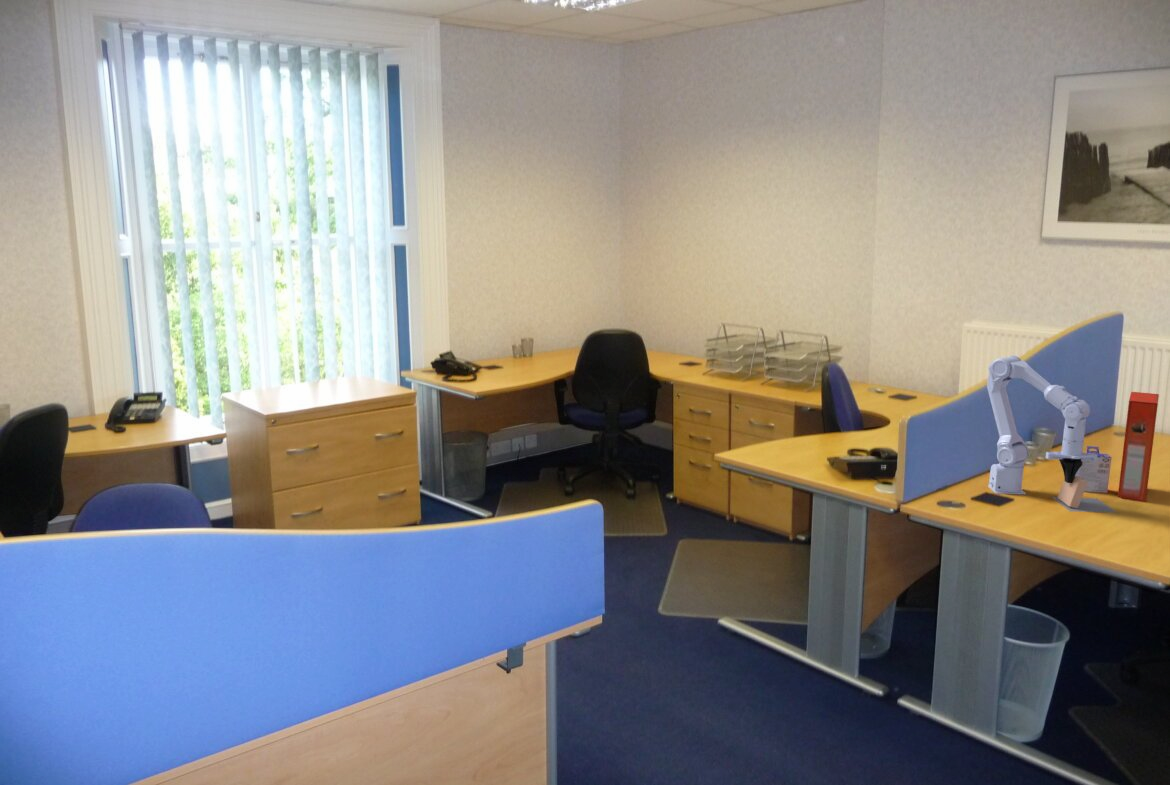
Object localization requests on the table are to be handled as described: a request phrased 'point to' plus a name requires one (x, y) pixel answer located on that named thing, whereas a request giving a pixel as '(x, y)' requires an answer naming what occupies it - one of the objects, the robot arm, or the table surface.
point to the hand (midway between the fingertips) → (1068, 482)
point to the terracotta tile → (1073, 491)
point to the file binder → (1138, 446)
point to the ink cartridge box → (1096, 471)
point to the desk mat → (1088, 505)
